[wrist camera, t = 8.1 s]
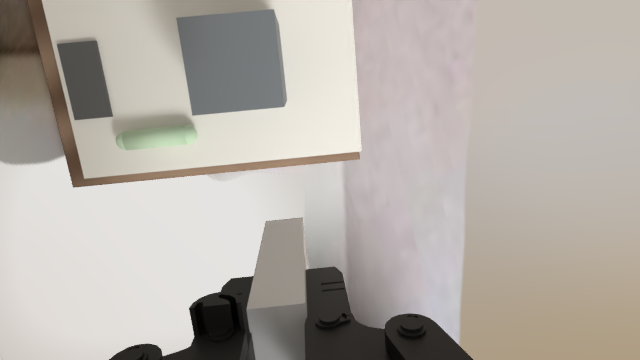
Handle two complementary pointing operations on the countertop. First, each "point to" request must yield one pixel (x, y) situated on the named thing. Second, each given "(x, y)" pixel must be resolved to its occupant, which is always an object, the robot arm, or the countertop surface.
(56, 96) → the walnut base
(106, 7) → the plate
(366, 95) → the countertop surface
